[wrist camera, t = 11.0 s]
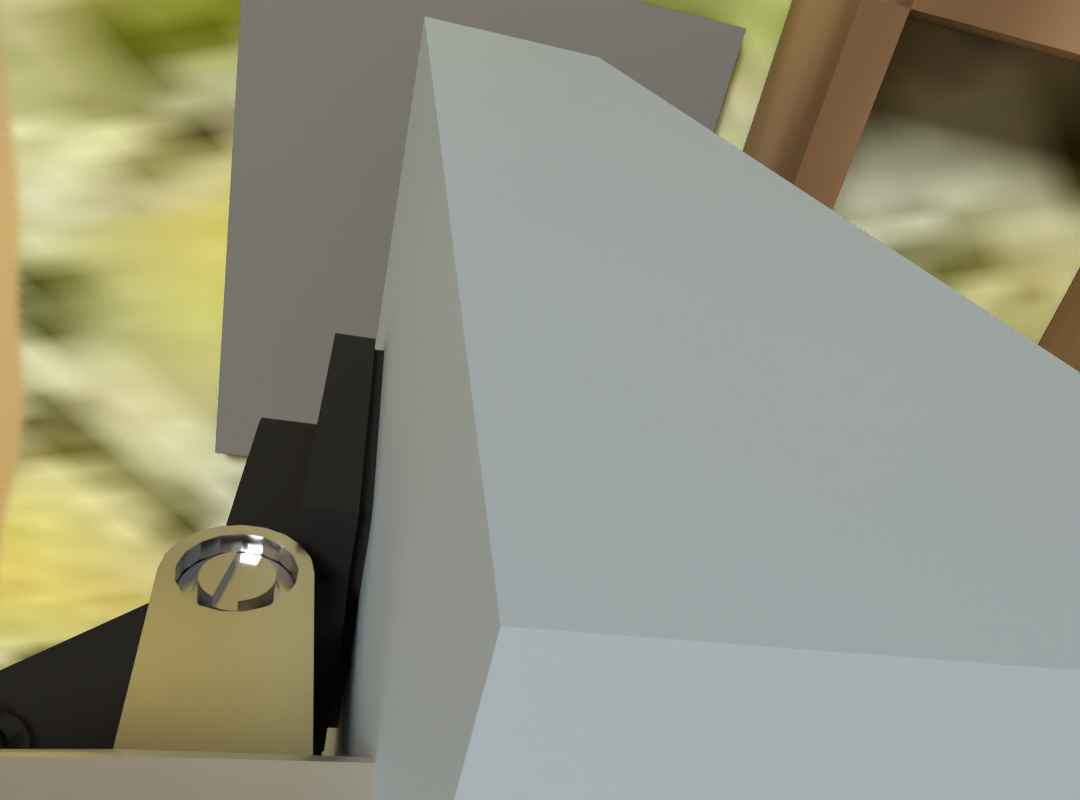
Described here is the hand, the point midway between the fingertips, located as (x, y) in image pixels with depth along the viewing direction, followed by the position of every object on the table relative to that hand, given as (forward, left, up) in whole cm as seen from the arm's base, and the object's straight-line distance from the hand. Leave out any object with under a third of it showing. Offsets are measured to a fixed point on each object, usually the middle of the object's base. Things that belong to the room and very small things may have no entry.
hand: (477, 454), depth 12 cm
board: (0, 0, -5) cm, 5 cm away
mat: (0, 0, -9) cm, 9 cm away
